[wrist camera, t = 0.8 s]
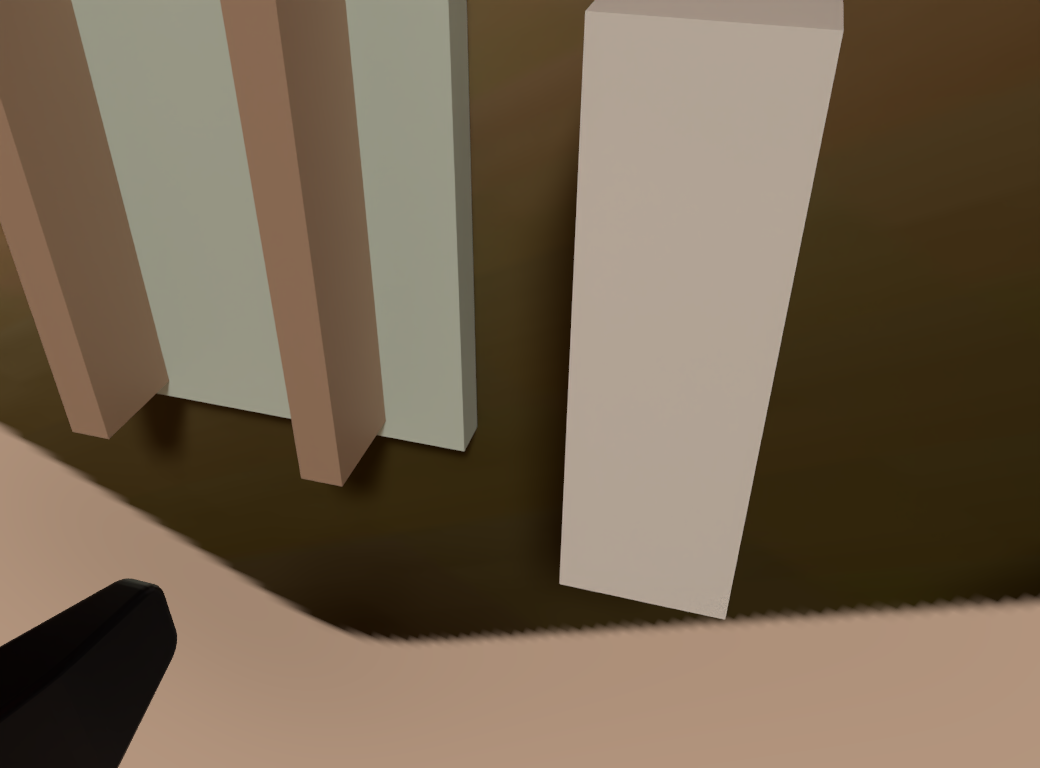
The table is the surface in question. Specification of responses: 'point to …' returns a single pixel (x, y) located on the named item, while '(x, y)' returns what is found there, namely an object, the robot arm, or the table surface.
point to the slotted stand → (247, 212)
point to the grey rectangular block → (683, 279)
